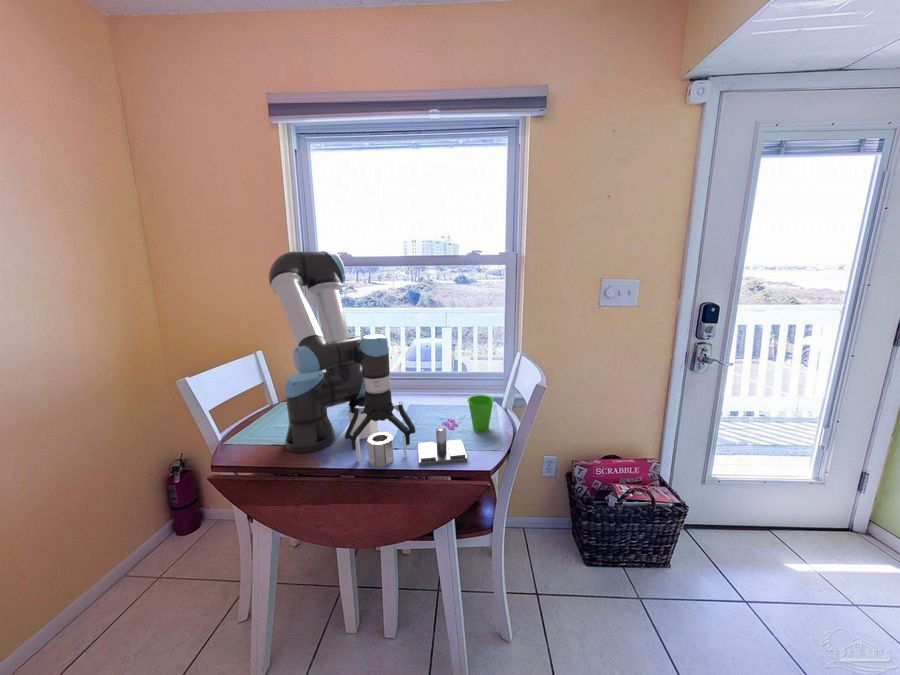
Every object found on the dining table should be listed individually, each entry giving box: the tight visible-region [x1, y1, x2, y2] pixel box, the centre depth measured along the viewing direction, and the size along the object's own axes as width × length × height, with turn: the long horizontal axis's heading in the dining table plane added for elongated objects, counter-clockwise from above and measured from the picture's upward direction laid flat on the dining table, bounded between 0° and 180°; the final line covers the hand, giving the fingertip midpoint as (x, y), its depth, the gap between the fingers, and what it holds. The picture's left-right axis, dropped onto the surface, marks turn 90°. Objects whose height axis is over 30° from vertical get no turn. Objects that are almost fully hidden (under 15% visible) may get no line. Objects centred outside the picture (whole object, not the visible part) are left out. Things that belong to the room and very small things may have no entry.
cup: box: [467, 394, 495, 434], centre depth 119 cm, size 9×9×11 cm
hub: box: [366, 432, 395, 468], centre depth 102 cm, size 7×7×7 cm
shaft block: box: [417, 426, 468, 467], centre depth 104 cm, size 14×10×8 cm
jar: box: [347, 397, 379, 440], centre depth 118 cm, size 9×8×12 cm
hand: (382, 456), depth 103 cm, fingers open, 13 cm apart
